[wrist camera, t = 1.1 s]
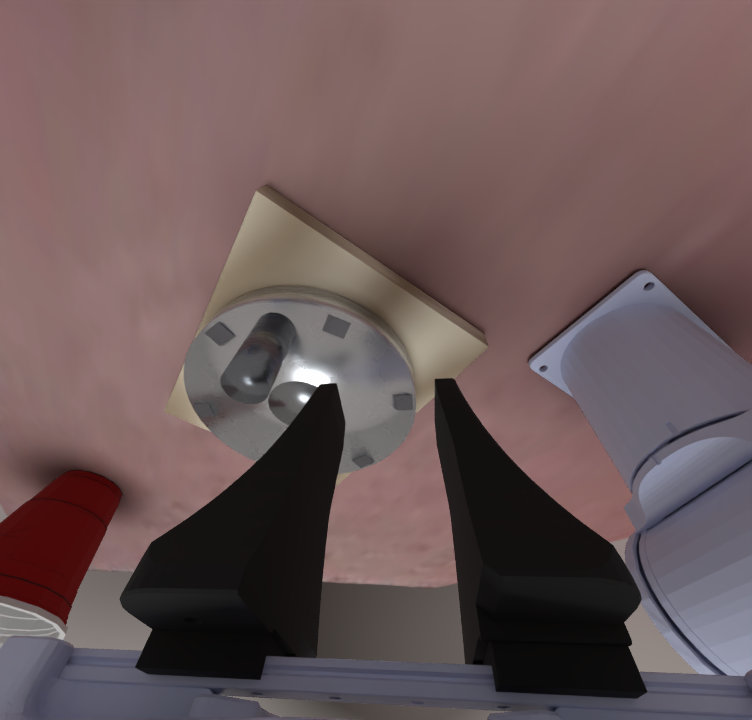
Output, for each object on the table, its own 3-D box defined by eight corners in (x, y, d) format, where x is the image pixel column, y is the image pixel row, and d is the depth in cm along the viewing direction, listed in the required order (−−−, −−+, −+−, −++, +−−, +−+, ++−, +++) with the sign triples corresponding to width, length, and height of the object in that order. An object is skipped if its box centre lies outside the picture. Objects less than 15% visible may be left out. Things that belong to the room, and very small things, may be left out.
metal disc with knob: (418, 450, 26) (423, 537, 21) (242, 454, 27) (205, 536, 22) (410, 276, 18) (414, 347, 12) (159, 295, 19) (68, 365, 14)
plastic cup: (172, 506, 36) (89, 651, 26) (99, 521, 39) (1, 657, 29) (87, 441, 30) (-59, 598, 21) (9, 465, 33) (-151, 611, 23)
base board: (483, 333, 21) (489, 348, 20) (339, 470, 31) (336, 487, 29) (265, 184, 17) (254, 190, 16) (174, 397, 26) (162, 413, 25)
